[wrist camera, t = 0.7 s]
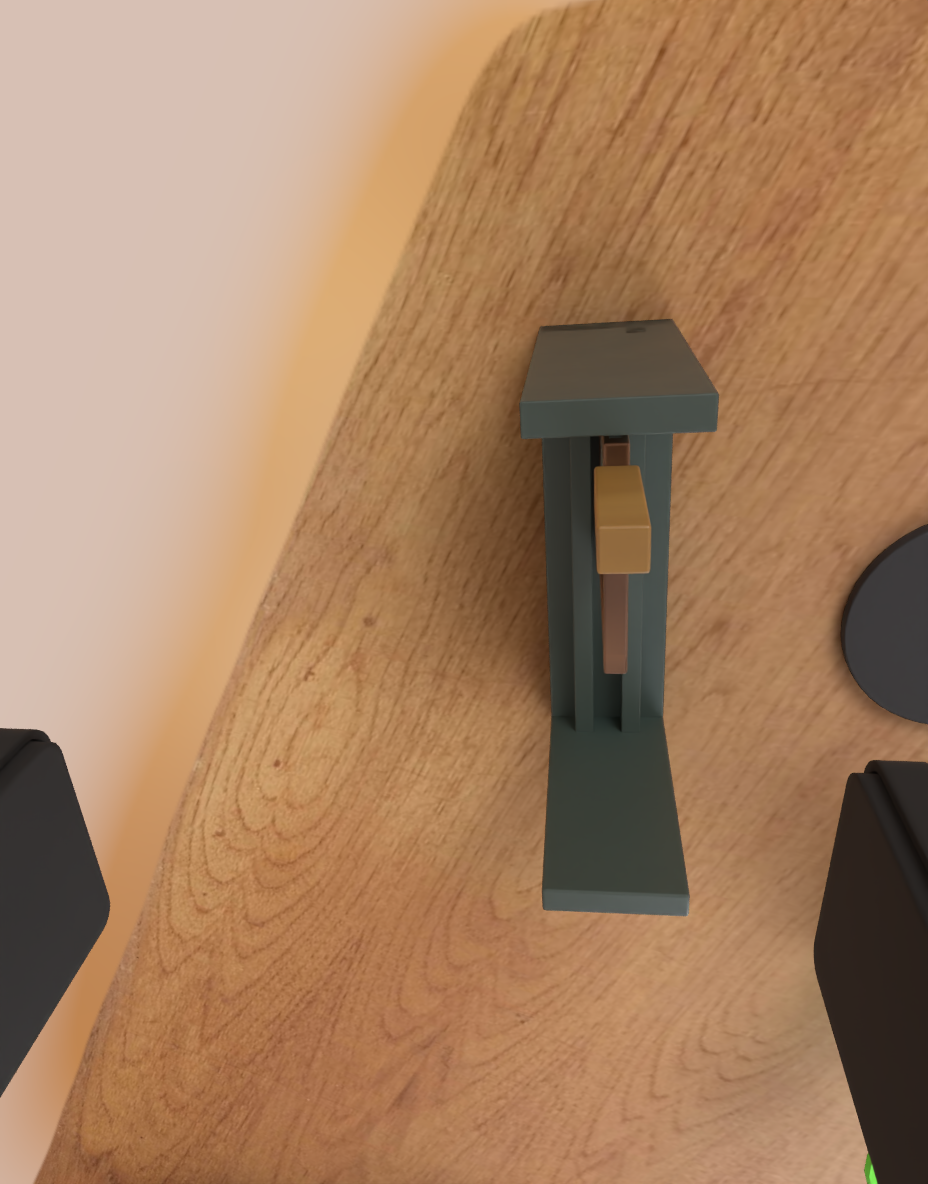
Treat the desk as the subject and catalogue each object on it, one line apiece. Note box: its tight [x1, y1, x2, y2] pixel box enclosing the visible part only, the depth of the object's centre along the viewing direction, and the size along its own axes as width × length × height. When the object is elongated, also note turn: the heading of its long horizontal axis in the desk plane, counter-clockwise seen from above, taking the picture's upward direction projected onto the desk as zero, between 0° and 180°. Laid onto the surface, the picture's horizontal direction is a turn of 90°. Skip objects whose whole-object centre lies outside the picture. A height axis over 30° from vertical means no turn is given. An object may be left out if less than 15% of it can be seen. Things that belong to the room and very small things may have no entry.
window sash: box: [594, 435, 651, 674], centre depth 26 cm, size 7×1×14 cm, turn 4°
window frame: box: [519, 319, 719, 916], centre depth 31 cm, size 18×5×12 cm, turn 4°
